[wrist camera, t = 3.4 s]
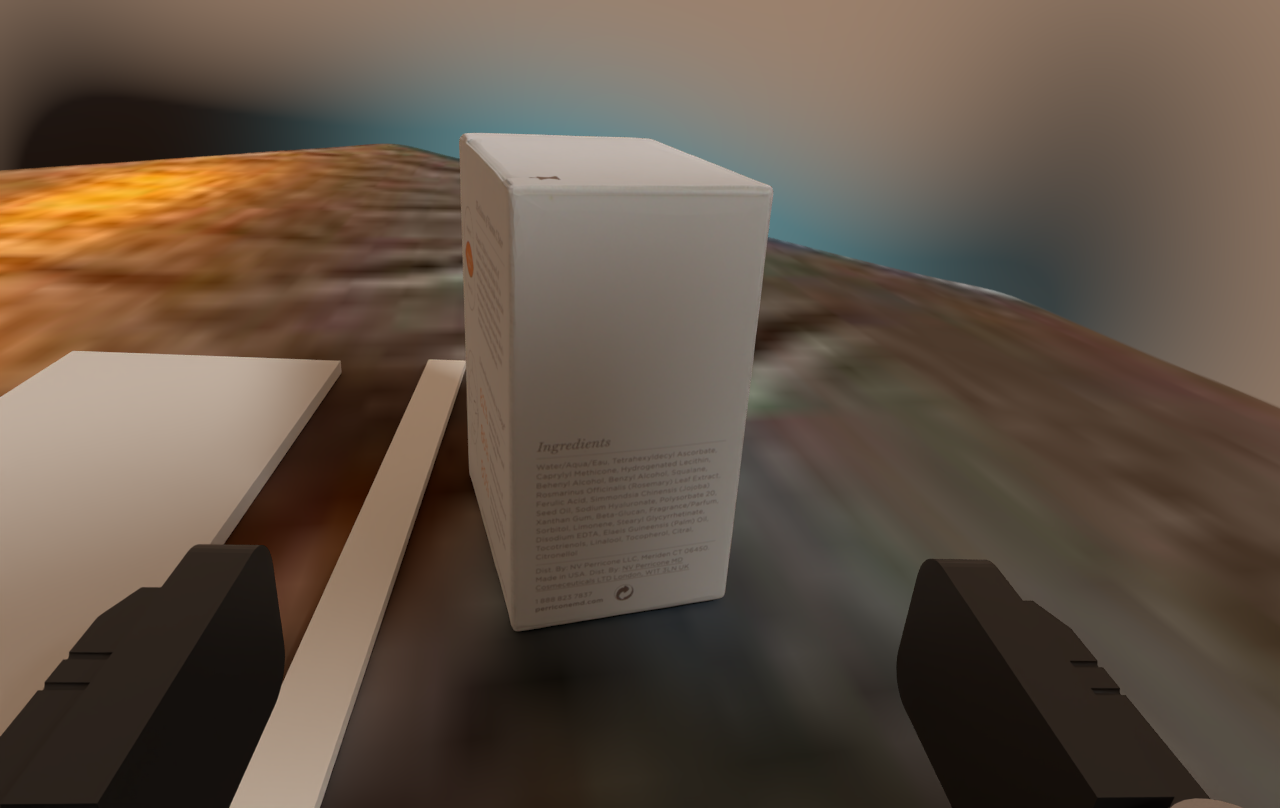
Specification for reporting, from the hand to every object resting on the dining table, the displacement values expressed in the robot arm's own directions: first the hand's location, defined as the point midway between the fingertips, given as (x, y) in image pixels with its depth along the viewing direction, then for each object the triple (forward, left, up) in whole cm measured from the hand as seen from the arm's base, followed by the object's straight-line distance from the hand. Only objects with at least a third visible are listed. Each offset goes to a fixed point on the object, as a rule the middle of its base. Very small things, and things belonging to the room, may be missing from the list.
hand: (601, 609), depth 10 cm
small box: (0, -12, -7) cm, 13 cm away
